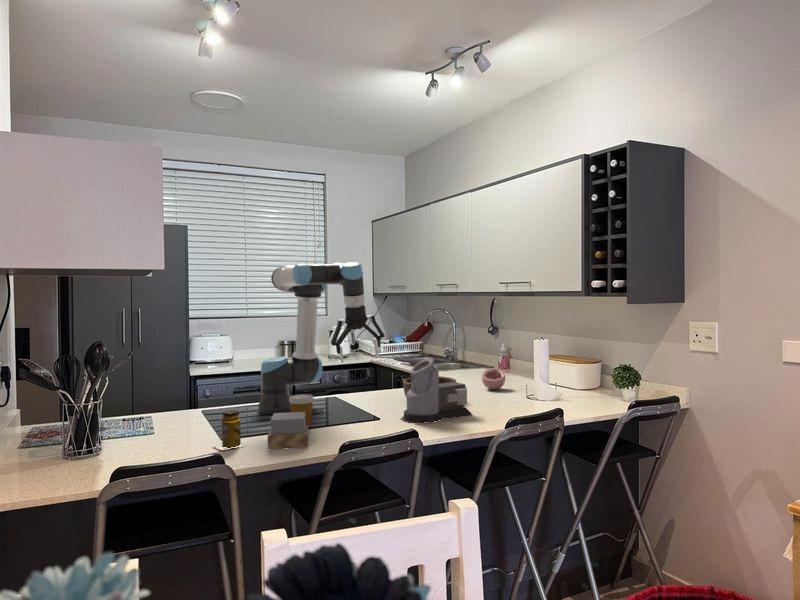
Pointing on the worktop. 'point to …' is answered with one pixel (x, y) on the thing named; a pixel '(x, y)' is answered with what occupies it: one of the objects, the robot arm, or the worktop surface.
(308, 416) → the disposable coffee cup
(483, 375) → the mortar and pestle
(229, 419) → the condiment
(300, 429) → the grey square block
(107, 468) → the worktop surface
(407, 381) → the wooden bowl
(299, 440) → the walnut base block
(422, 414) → the juicer
